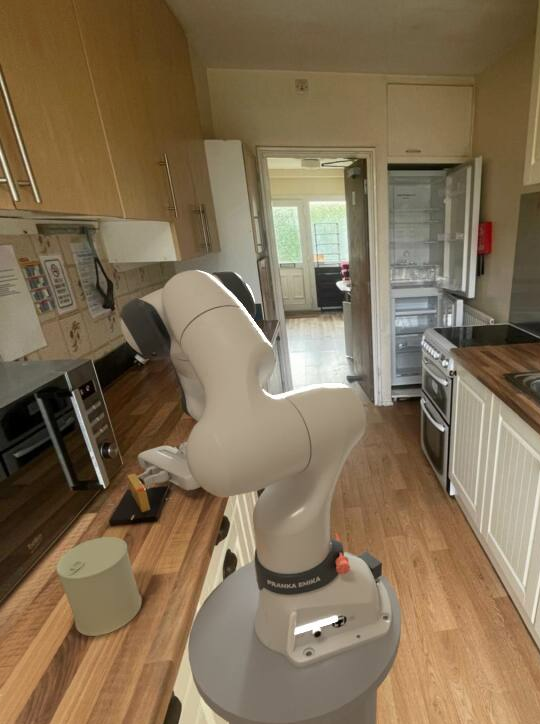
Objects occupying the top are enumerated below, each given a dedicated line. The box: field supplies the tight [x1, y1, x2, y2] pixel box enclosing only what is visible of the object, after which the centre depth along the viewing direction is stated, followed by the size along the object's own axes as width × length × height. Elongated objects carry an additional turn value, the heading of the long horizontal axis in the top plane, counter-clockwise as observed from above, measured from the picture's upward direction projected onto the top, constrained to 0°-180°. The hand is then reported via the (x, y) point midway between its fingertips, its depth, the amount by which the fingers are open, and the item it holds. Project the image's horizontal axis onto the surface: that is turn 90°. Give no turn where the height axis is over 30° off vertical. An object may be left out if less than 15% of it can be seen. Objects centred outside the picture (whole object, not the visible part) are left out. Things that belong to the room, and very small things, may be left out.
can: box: [55, 536, 143, 637], centre depth 67 cm, size 9×9×12 cm
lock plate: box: [107, 485, 174, 527], centre depth 95 cm, size 13×13×2 cm
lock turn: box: [126, 473, 150, 512], centre depth 94 cm, size 9×2×5 cm, turn 41°
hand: (141, 481), depth 96 cm, fingers closed
